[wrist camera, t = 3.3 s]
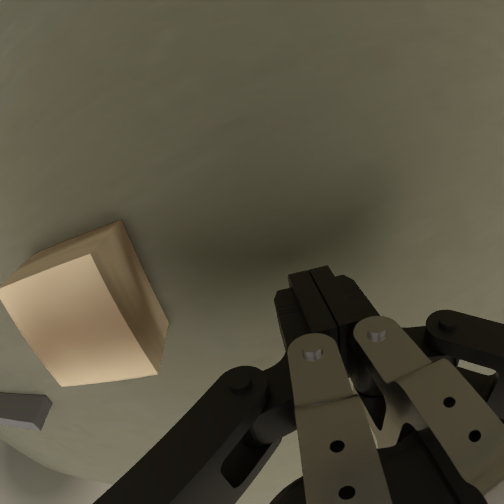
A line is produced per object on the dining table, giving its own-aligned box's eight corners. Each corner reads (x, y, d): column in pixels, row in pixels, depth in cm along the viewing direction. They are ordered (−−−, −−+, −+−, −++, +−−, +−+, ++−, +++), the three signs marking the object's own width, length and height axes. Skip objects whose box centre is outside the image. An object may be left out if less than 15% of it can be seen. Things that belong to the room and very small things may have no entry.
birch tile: (34, 253, 13) (-5, 290, 10) (122, 218, 13) (90, 253, 10) (83, 339, 16) (61, 386, 12) (169, 320, 16) (158, 374, 12)
